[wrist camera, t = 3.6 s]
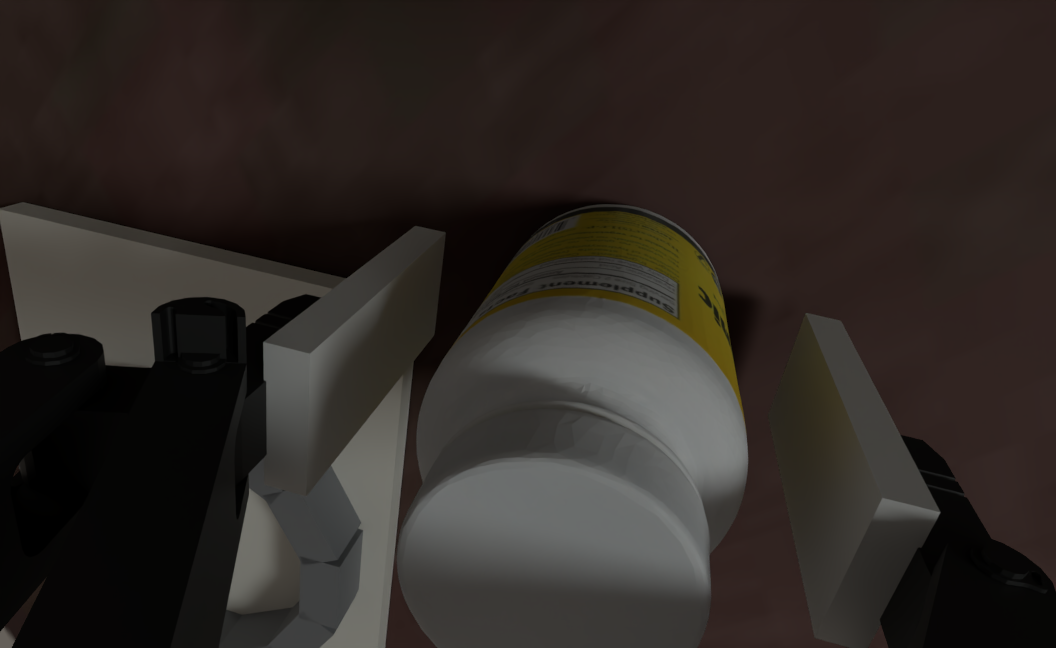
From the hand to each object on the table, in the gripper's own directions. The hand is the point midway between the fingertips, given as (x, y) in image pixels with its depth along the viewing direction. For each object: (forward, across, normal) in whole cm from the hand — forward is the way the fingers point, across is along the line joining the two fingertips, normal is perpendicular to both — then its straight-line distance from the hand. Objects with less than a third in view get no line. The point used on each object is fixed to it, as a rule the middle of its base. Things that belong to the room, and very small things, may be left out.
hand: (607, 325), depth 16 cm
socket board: (+1, -11, -10) cm, 15 cm away
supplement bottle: (+2, 0, 0) cm, 2 cm away
